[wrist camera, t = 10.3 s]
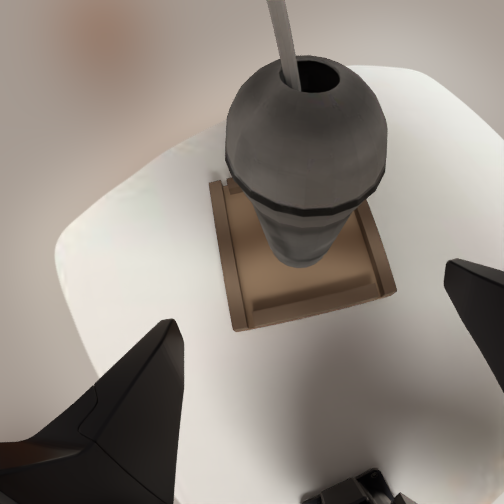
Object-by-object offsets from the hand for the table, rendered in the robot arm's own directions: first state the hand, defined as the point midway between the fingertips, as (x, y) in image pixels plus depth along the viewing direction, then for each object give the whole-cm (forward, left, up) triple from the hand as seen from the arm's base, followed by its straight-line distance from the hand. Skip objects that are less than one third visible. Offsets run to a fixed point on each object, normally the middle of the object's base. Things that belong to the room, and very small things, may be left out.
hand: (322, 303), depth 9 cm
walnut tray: (+7, -3, -14) cm, 16 cm away
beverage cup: (+6, -3, -13) cm, 15 cm away
